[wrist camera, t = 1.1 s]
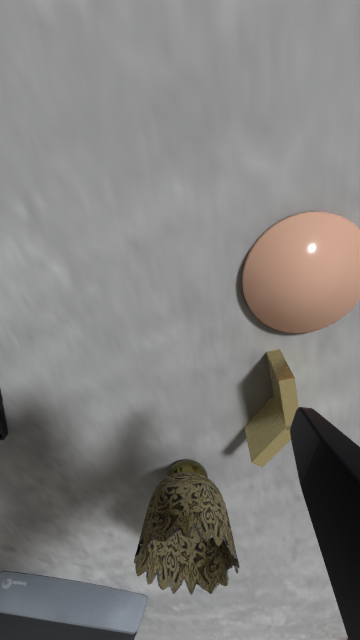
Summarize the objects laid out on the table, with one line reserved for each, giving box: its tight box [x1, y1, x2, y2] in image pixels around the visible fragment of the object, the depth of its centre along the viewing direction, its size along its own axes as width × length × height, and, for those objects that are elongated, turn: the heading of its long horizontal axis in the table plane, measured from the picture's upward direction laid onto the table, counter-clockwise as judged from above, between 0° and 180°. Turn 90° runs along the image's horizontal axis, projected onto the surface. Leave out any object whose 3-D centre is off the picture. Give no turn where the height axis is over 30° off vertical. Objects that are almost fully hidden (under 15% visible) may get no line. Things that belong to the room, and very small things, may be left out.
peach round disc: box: [242, 211, 360, 333], centre depth 19 cm, size 8×8×1 cm
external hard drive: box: [0, 571, 148, 640], centre depth 39 cm, size 13×19×4 cm
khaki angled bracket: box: [244, 349, 298, 467], centre depth 22 cm, size 8×3×4 cm, turn 173°
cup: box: [134, 460, 239, 595], centre depth 24 cm, size 8×7×8 cm
